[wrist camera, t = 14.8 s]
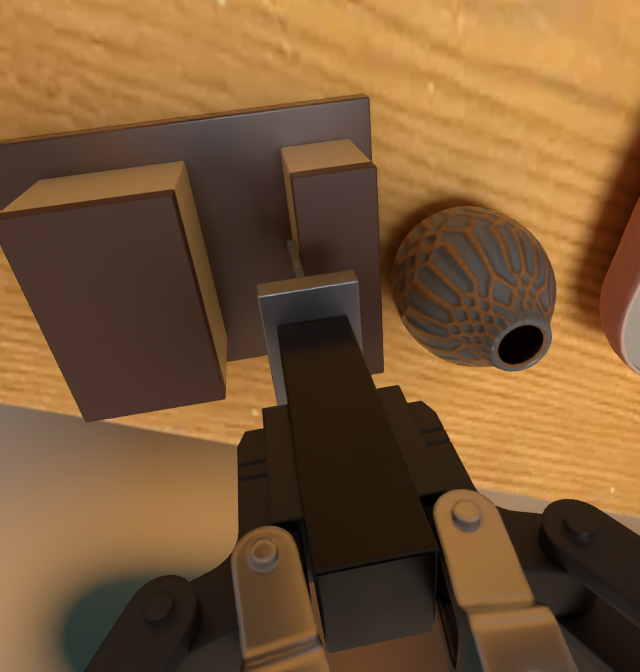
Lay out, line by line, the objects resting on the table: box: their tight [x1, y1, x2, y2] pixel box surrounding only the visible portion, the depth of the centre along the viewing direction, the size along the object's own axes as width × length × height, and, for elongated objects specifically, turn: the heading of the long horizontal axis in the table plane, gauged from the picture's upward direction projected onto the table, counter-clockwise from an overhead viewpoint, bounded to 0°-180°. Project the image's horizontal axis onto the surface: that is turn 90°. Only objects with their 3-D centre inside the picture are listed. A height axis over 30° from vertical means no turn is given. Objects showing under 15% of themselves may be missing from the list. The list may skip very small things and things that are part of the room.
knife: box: [256, 240, 439, 653], centre depth 15 cm, size 3×5×14 cm, turn 6°
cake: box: [0, 161, 227, 422], centre depth 21 cm, size 6×9×5 cm, turn 6°
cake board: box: [0, 94, 372, 362], centre depth 24 cm, size 16×12×1 cm
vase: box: [391, 206, 556, 371], centre depth 22 cm, size 7×7×9 cm
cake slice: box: [280, 138, 384, 375], centre depth 22 cm, size 3×9×5 cm, turn 6°
